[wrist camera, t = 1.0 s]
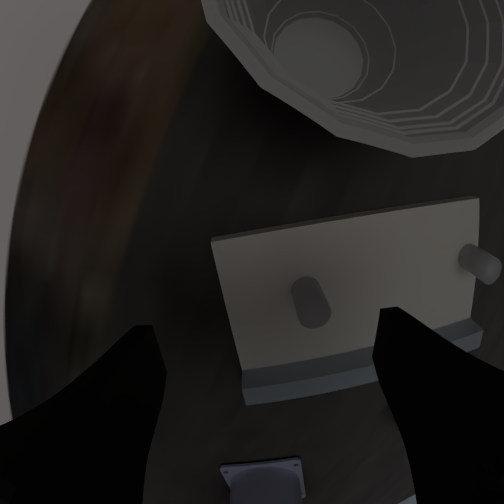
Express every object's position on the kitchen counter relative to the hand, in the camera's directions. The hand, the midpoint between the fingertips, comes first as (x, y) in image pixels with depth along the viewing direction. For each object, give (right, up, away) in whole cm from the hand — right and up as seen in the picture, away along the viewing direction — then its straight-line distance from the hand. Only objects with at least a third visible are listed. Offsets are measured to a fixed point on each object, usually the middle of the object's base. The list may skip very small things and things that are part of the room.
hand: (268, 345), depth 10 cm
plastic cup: (+3, +14, +6) cm, 16 cm away
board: (+7, 0, +11) cm, 13 cm away
